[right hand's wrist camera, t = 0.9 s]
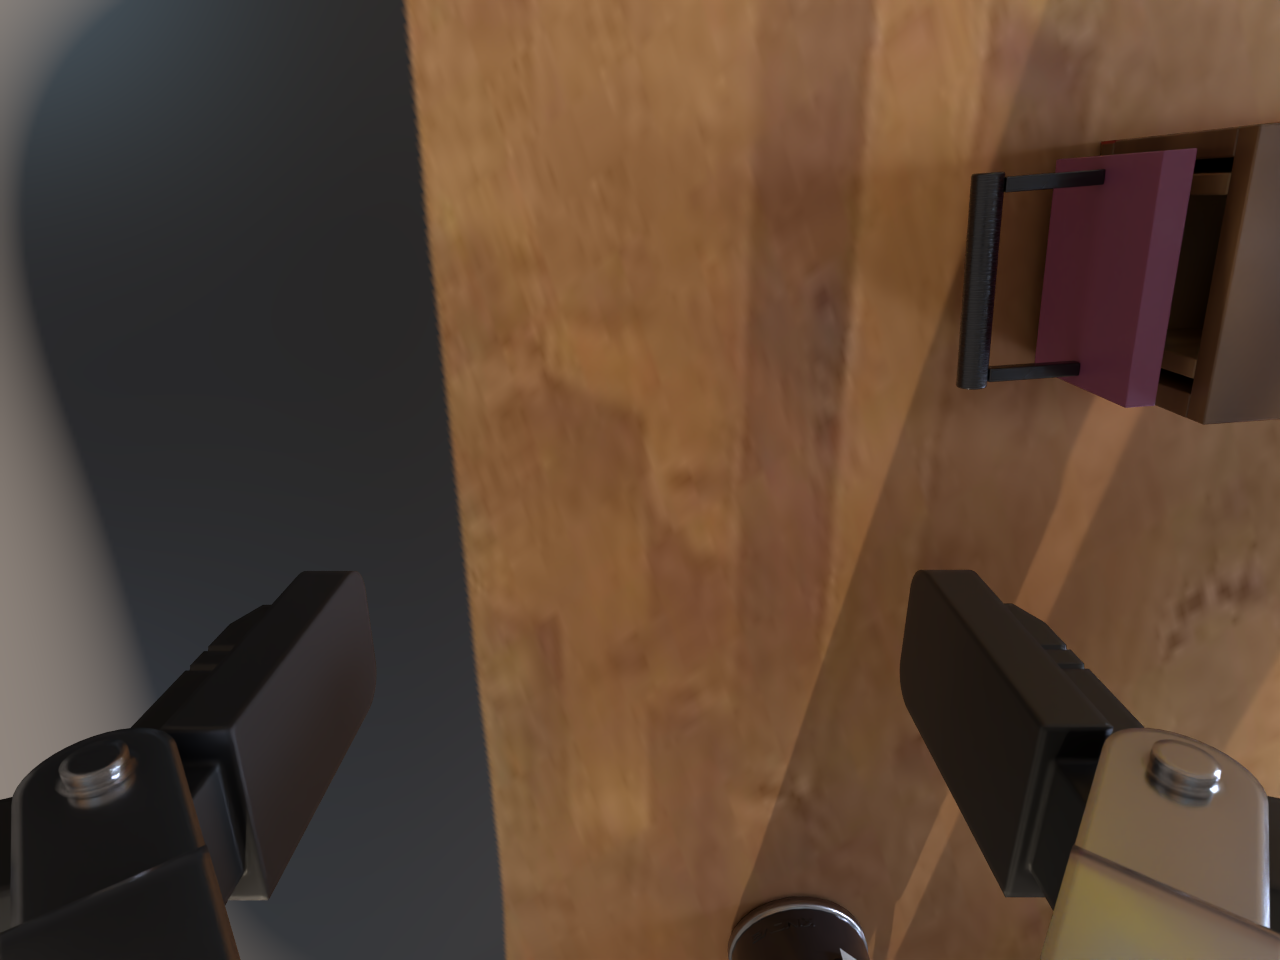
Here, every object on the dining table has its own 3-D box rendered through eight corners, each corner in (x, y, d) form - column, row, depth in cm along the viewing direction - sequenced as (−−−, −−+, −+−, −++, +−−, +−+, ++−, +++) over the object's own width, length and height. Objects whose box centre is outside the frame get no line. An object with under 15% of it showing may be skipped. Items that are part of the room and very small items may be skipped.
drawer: (926, 375, 38) (993, 417, 31) (939, 168, 35) (1016, 162, 28) (1327, 346, 37) (1488, 382, 30) (1378, 134, 34) (1573, 118, 27)
